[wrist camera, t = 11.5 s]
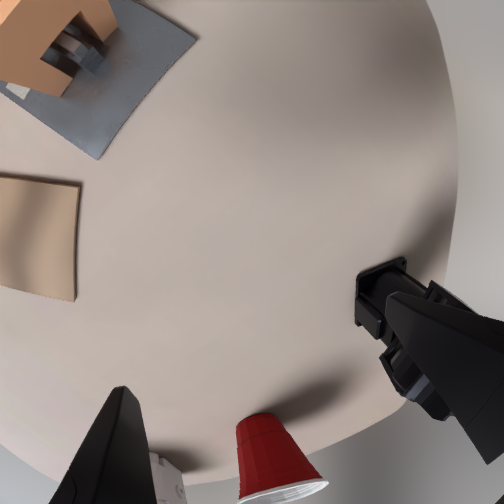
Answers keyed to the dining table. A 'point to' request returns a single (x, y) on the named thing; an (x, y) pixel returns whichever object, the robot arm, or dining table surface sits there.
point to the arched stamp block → (45, 37)
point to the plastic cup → (272, 463)
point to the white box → (167, 481)
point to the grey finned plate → (103, 75)
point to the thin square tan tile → (38, 237)
